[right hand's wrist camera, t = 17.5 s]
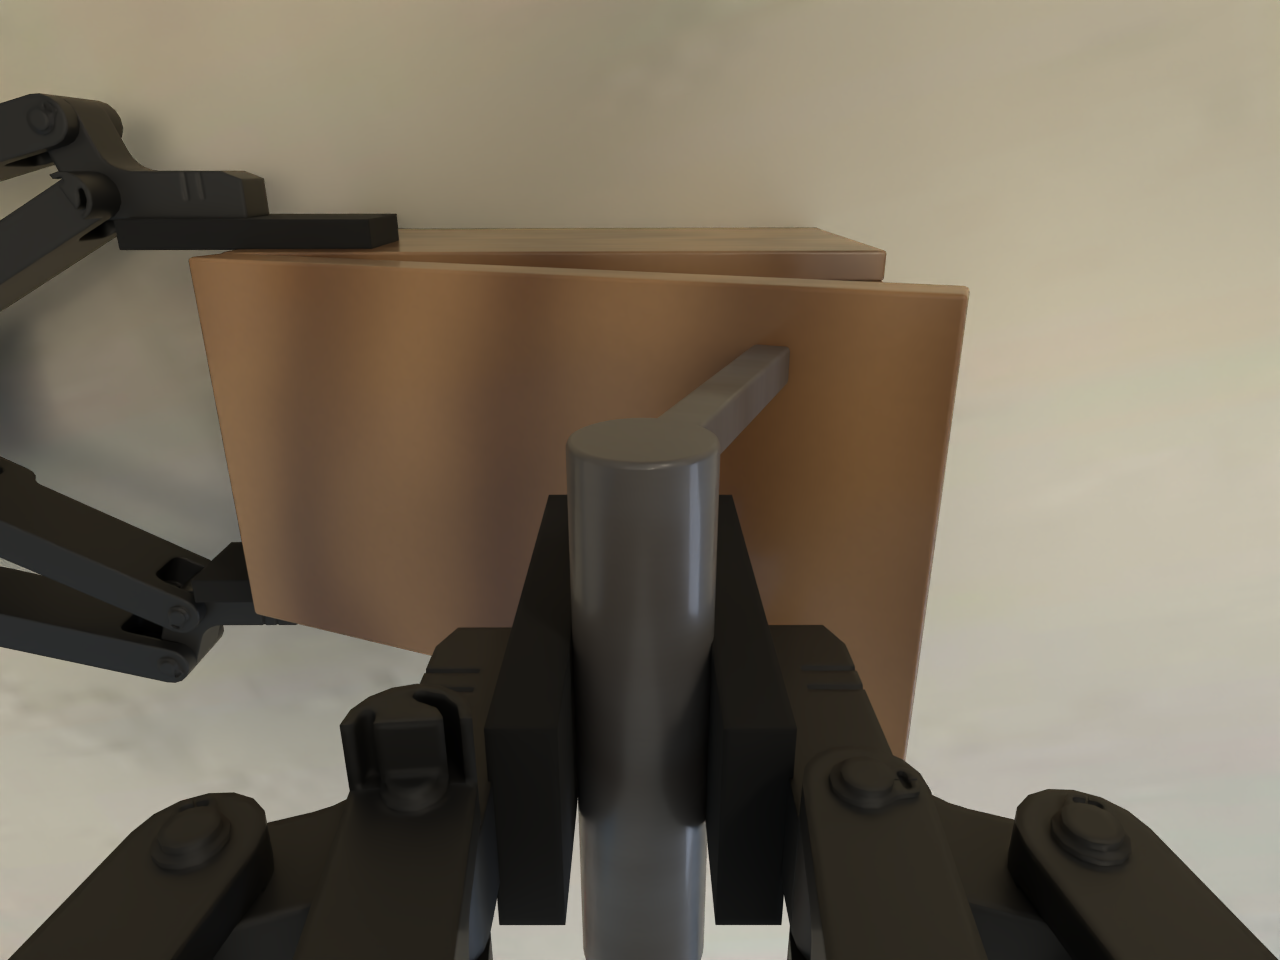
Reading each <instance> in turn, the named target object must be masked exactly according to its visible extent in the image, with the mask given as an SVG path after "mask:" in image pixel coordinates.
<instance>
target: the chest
mask: <svg viewBox="0 0 1280 960" xmlns="http://www.w3.org/2000/svg"><path fill="white" fill-rule="evenodd" d="M398 234H399V241H396V242H392V243H389V244H386V245H383V246H379V247H376V248H373V249H237V250H232V251H227V252H223V253H222V254H224V253H233V254H256V255H278V256H301V257H323V258H346V259H368V260H391V261H413V262H436V263H458V264H481V265H503V266H526V267H548V268H571V269H593V270H615V271H638V272H660V273H683V274H705V275H728V276H750V277H773V278H795V279H818V280H840V281H863V282H882V280H883V279H884V272H885V262H886V251H884V250H881V249H878V248H875V247H872V246H869V245H866V244H863V243H860V242H857V241H854V240H851V239H848V238H845V237H842V236H839V235H836V234H833V233H830V232H827V231H824V230H821V229H818V228H458V229H398Z"/></svg>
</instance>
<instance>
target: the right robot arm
mask: <svg viewBox="0 0 1280 960" xmlns="http://www.w3.org/2000/svg"><path fill="white" fill-rule="evenodd" d="M340 731H341V737H342V744H343V750H344V757H345V763H346V770H347V776H348V782H349V789H350V792H349V795H348V798H347V799H346V800H344V801H342V802H340V803H338V804H336V805H334V806H331V807H328V808H325V809H321V810H318V811H315V812H312V813H307V814H303V815H299V816H294V817H290V818H286V819H282V820H277V821H273V822H269V823H267V820H266V815H265V811H264V810H263V808H262V807H261V806H260V805H259V804H258V803H257V802H256V801H255V800H254V799H253V798H250V797H247V796H244V795H240V794H237V793H234V792H233V793H208V794H204V795H200V796H197V797H193V798H189V799H186V800H182V801H179V802H177V803H175V804H173V805H171V806H169V807H167V808H165V809H163V810H161V811H159V812H157V813H155V814H154V815H152V816H151V817H150V818H149V819H147V820H146V821H145V822H144V823H142V824H141V825H140V826H139V827H137V828H136V829H135V830H134V831H132V832H131V833H130V834H129V835H128V836H127V837H126V838H125V839H124V840H123V841H122V843H121V844H120V845H119V846H118V847H117V848H116V849H115V850H114V851H113V852H112V853H111V854H110V855H109V856H108V857H107V858H106V859H105V860H104V861H103V862H102V863H101V864H100V865H99V866H98V867H97V868H96V869H95V870H94V871H93V872H92V873H91V875H90V876H89V877H88V878H87V879H86V880H85V881H84V882H83V883H82V884H81V885H80V886H79V887H78V888H77V889H76V890H75V891H74V892H73V893H72V894H71V895H70V896H69V897H68V898H67V899H66V900H65V901H64V902H63V903H62V904H61V906H60V907H59V908H58V909H57V910H56V911H55V912H54V913H53V914H52V915H51V916H50V917H49V918H48V919H47V920H46V921H45V922H44V923H43V924H42V925H41V926H40V927H39V928H38V929H37V930H36V931H35V932H34V933H33V934H32V935H31V936H30V938H29V939H28V940H27V941H26V942H25V943H24V944H23V945H22V946H21V947H20V948H19V949H18V950H17V951H16V952H15V953H14V954H13V955H12V956H11V957H10V958H9V959H8V960H493V956H492V944H491V933H490V931H491V926H492V921H493V916H494V911H495V906H496V901H497V900H498V912H499V925H565V922H566V912H567V902H568V892H569V882H570V871H571V861H572V851H573V841H574V831H575V821H576V811H577V800H578V782H577V754H576V726H575V698H574V670H573V642H572V614H571V585H570V557H569V529H568V501H567V495H549V496H548V500H547V503H546V507H545V510H544V514H543V518H542V521H541V525H540V528H539V532H538V536H537V539H536V543H535V546H534V550H533V553H532V557H531V561H530V564H529V568H528V571H527V575H526V579H525V582H524V586H523V589H522V593H521V597H520V600H519V604H518V607H517V611H516V615H515V618H514V622H513V625H512V627H458V628H457V629H456V630H455V631H453V632H452V633H451V634H450V635H449V636H448V637H446V638H445V639H444V640H443V641H442V642H441V643H439V644H438V645H437V646H436V647H435V650H434V652H433V654H432V657H431V659H430V661H429V664H428V666H427V668H426V673H424V675H423V678H422V680H421V682H420V684H413V685H407V686H400V687H394V688H390V689H388V690H385V691H383V692H380V693H378V694H375V695H372V696H370V697H368V698H367V699H365V700H364V701H362V702H361V703H360V704H358V705H357V706H355V707H354V708H352V709H351V710H350V711H349V713H348V714H347V716H346V717H345V718H344V720H343V721H342V723H341V724H340ZM705 822H706V832H707V843H708V853H709V863H710V873H711V883H712V893H713V903H714V914H715V924H716V925H781V923H782V911H783V898H784V897H785V902H786V907H787V912H788V918H789V923H790V933H789V944H788V956H787V960H1278V959H1277V958H1276V957H1275V956H1274V955H1273V954H1272V953H1271V952H1270V951H1269V950H1268V949H1267V948H1266V947H1265V946H1264V945H1263V944H1262V943H1261V942H1260V940H1259V939H1258V938H1257V937H1256V936H1255V935H1254V934H1253V933H1252V932H1251V931H1250V930H1249V929H1248V928H1247V927H1246V926H1245V925H1244V924H1243V923H1242V922H1241V921H1240V920H1239V919H1238V918H1237V917H1236V916H1235V915H1234V914H1233V913H1232V912H1231V911H1230V910H1229V909H1228V908H1227V907H1226V906H1225V905H1224V904H1223V903H1222V902H1221V900H1220V899H1219V898H1218V897H1217V896H1216V895H1215V894H1214V893H1213V892H1212V891H1211V890H1210V889H1209V888H1208V887H1207V886H1206V885H1205V884H1204V883H1203V882H1202V881H1201V880H1200V879H1199V878H1198V877H1197V876H1196V875H1195V874H1194V873H1193V872H1192V871H1191V870H1190V869H1189V868H1188V867H1187V866H1186V865H1185V864H1184V863H1183V862H1182V860H1181V859H1180V858H1179V857H1178V856H1177V855H1176V854H1175V853H1174V852H1173V851H1172V850H1171V849H1170V848H1169V847H1168V846H1167V845H1166V844H1165V843H1164V842H1163V841H1162V840H1161V839H1160V838H1159V837H1158V836H1157V835H1156V834H1155V833H1154V832H1153V831H1152V830H1151V829H1150V828H1149V827H1148V826H1146V825H1145V824H1144V823H1143V822H1141V821H1140V820H1139V819H1138V818H1136V817H1135V816H1134V815H1133V814H1131V813H1130V812H1129V811H1127V810H1125V809H1123V808H1121V807H1119V806H1117V805H1115V804H1113V803H1111V802H1109V801H1107V800H1105V799H1103V798H1101V797H1098V796H1094V795H1090V794H1086V793H1083V792H1079V791H1075V790H1059V789H1047V790H1044V791H1040V792H1037V793H1034V794H1030V795H1028V796H1027V797H1026V798H1025V799H1024V800H1023V801H1022V803H1021V804H1020V805H1019V806H1018V807H1017V811H1016V815H1015V820H1013V819H1009V818H1005V817H1001V816H996V815H992V814H988V813H983V812H979V811H975V810H971V809H967V808H964V807H960V806H957V805H954V804H951V803H948V802H946V801H944V800H942V799H940V798H937V797H935V796H933V795H932V793H931V790H930V789H929V787H928V785H927V784H926V782H925V781H924V779H923V777H922V776H921V774H920V773H919V772H918V771H916V770H915V769H914V768H913V767H911V766H910V765H909V764H908V763H906V762H905V761H904V760H903V759H901V758H898V757H896V756H894V755H893V754H892V751H891V749H890V747H889V744H888V742H887V740H886V737H885V735H884V733H883V730H882V728H881V726H880V723H879V721H878V719H877V716H876V714H875V712H874V709H873V707H872V705H871V702H870V700H869V698H868V695H867V693H866V691H865V689H863V684H862V682H861V679H860V677H859V675H858V672H857V671H855V665H854V663H853V661H852V658H851V656H850V654H849V651H848V649H847V647H846V644H845V643H844V642H842V641H841V640H840V639H839V638H838V637H837V636H835V635H834V634H833V633H832V632H831V631H830V630H828V629H827V628H826V627H825V626H824V625H768V622H767V619H766V615H765V611H764V608H763V604H762V601H761V597H760V593H759V590H758V586H757V583H756V579H755V575H754V572H753V568H752V565H751V561H750V558H749V554H748V550H747V547H746V543H745V540H744V536H743V532H742V529H741V525H740V522H739V518H738V515H737V511H736V507H735V504H734V500H733V497H732V495H719V507H718V536H717V566H716V595H715V624H714V638H713V642H712V644H711V673H710V702H709V731H708V760H707V789H706V817H705Z"/></svg>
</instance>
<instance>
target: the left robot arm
mask: <svg viewBox="0 0 1280 960" xmlns="http://www.w3.org/2000/svg"><path fill="white" fill-rule="evenodd" d="M122 132H123V126H122V122H121V118H120V117H119V115H118V114H117V112H116V111H115V110H114V109H113V108H112V107H110V106H109V105H108V104H106V103H103V102H100V101H95V100H87V99H79V98H71V97H63V96H56V95H48V94H40V93H38V94H29V95H25V96H22V97H19V98H16V99H13V100H10V101H6V102H3V103H0V181H3V180H7V179H10V178H13V177H16V176H20V175H23V174H26V173H29V172H33V171H36V170H39V169H42V168H46V167H49V166H52V165H56V167H57V169H58V170H59V172H55V173H52V174H50V176H51V177H52V179H61V180H60V181H58V182H57V183H55V184H54V185H52V186H51V187H50V188H48V189H47V190H45V191H44V192H42V193H41V194H39V195H38V196H36V197H35V198H33V199H32V200H30V201H29V202H27V203H26V204H24V205H23V206H21V207H20V208H18V209H17V210H15V211H14V212H12V213H11V214H9V215H8V216H6V217H5V218H3V219H2V220H0V312H1V311H2V310H4V309H5V308H7V307H9V306H10V305H12V304H13V303H15V302H16V301H18V300H19V299H21V298H22V297H24V296H25V295H27V294H29V293H30V292H32V291H33V290H35V289H36V288H38V287H39V286H41V285H42V284H44V283H45V282H47V281H49V280H50V279H52V278H53V277H55V276H56V275H58V274H59V273H61V272H62V271H64V270H66V269H67V268H69V267H70V266H72V265H73V264H75V263H76V262H78V261H79V260H81V259H82V258H84V257H86V256H87V255H89V254H90V253H92V252H93V251H95V250H96V249H98V248H99V247H101V246H103V245H104V244H106V243H107V242H109V241H110V240H112V239H113V238H115V237H116V236H117V239H118V243H119V248H120V250H237V249H373V248H376V247H379V246H383V245H386V244H389V243H392V242H396V241H399V234H398V224H397V214H269V209H268V203H267V196H266V189H265V183H264V179H263V178H261V177H258V176H256V175H253V174H251V173H248V172H246V171H156V170H151V169H148V168H145V167H144V166H142V165H141V164H139V163H138V162H137V161H136V160H135V159H134V158H133V157H132V156H131V154H130V153H129V152H128V150H127V148H126V146H125V144H124V143H123V141H122V139H121V137H122ZM0 557H1V558H3V559H5V560H8V561H10V562H12V563H15V564H17V565H19V566H22V567H24V568H26V569H29V570H31V571H33V572H36V573H38V574H40V575H38V574H34V573H29V572H24V571H20V570H15V569H11V568H5V567H0V647H4V648H9V649H13V650H18V651H23V652H27V653H32V654H37V655H42V656H46V657H51V658H56V659H60V660H65V661H70V662H75V663H79V664H84V665H89V666H94V667H98V668H103V669H108V670H112V671H117V672H122V673H127V674H131V675H136V676H141V677H145V678H150V679H155V680H160V681H164V682H173V683H176V682H179V681H182V680H183V679H184V678H185V677H187V675H188V674H189V673H190V672H191V671H192V670H193V669H194V667H195V666H196V665H197V664H198V663H199V662H200V661H201V659H202V658H203V657H204V656H205V655H206V654H207V653H208V651H209V650H210V649H211V648H212V647H213V646H214V645H215V643H216V642H217V641H218V640H219V639H220V638H221V637H222V635H223V632H224V628H223V625H263V624H266V625H276V624H279V625H297V623H293V622H288V621H284V620H280V619H276V618H272V617H268V616H263V615H259V614H257V613H256V612H255V609H254V603H253V598H252V593H251V587H250V582H249V577H248V572H247V566H246V561H245V556H244V551H243V545H242V542H231V543H230V544H229V545H228V546H227V547H226V548H225V549H224V550H223V551H222V552H221V553H220V554H218V555H217V556H216V557H215V558H214V559H213V560H212V561H211V560H209V559H206V558H204V557H202V556H200V555H197V554H195V553H193V552H191V551H188V550H186V549H184V548H182V547H179V546H177V545H175V544H173V543H170V542H168V541H166V540H164V539H161V538H159V537H157V536H155V535H152V534H150V533H148V532H146V531H143V530H141V529H139V528H137V527H134V526H132V525H130V524H128V523H125V522H123V521H121V520H119V519H117V518H114V517H112V516H110V515H108V514H105V513H103V512H101V511H99V510H96V509H94V508H92V507H90V506H87V505H85V504H83V503H81V502H78V501H76V500H74V499H72V498H69V497H67V496H65V495H63V494H60V493H58V492H56V491H54V490H51V489H49V488H47V487H45V486H42V485H40V484H39V483H37V482H36V475H35V474H34V473H33V472H32V471H31V470H29V469H27V468H25V467H23V466H20V465H18V464H16V463H14V462H11V461H9V460H7V459H5V458H2V457H0Z"/></svg>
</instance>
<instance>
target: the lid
mask: <svg viewBox="0 0 1280 960" xmlns="http://www.w3.org/2000/svg"><path fill="white" fill-rule="evenodd" d="M189 265H190V271H191V276H192V281H193V286H194V292H195V297H196V302H197V308H198V313H199V318H200V323H201V329H202V334H203V339H204V345H205V350H206V355H207V360H208V366H209V371H210V376H211V382H212V387H213V392H214V397H215V403H216V408H217V413H218V418H219V424H220V429H221V434H222V440H223V445H224V450H225V455H226V461H227V466H228V471H229V477H230V482H231V487H232V492H233V498H234V503H235V508H236V514H237V519H238V524H239V529H240V535H241V540H242V545H243V551H244V556H245V561H246V566H247V572H248V577H249V582H250V587H251V593H252V598H253V603H254V609H255V612H256V613H257V614H259V615H263V616H268V617H272V618H276V619H280V620H284V621H288V622H293V623H297V624H301V625H305V626H309V627H314V628H318V629H322V630H326V631H330V632H335V633H339V634H343V635H347V636H351V637H355V638H360V639H364V640H368V641H372V642H376V643H381V644H385V645H389V646H393V647H397V648H401V649H406V650H410V651H414V652H418V653H422V654H427V655H431V656H432V654H433V652H434V650H435V647H436V646H437V645H438V644H439V643H441V642H442V641H443V640H444V639H445V638H446V637H448V636H449V635H450V634H451V633H452V632H453V631H455V630H456V629H457V628H458V627H512V625H513V622H514V618H515V615H516V611H517V607H518V604H519V600H520V597H521V593H522V589H523V586H524V582H525V579H526V575H527V571H528V568H529V564H530V561H531V557H532V553H533V550H534V546H535V543H536V539H537V536H538V532H539V528H540V525H541V521H542V518H543V514H544V510H545V507H546V503H547V500H548V496H549V495H567V501H568V529H569V557H570V585H571V614H572V642H573V670H574V698H575V726H576V754H577V782H578V810H579V839H580V867H581V895H582V923H583V949H584V954H585V958H586V960H701V957H702V953H703V946H704V916H705V887H706V858H707V832H706V822H705V817H706V789H707V760H708V731H709V702H710V673H711V644H712V642H713V638H714V624H715V595H716V566H717V536H718V507H719V495H732V497H733V500H734V504H735V507H736V511H737V515H738V518H739V522H740V525H741V529H742V532H743V536H744V540H745V543H746V547H747V550H748V554H749V558H750V561H751V565H752V568H753V572H754V575H755V579H756V583H757V586H758V590H759V593H760V597H761V601H762V604H763V608H764V611H765V615H766V619H767V622H768V625H824V626H825V627H826V628H827V629H828V630H830V631H831V632H832V633H833V634H834V635H835V636H837V637H838V638H839V639H840V640H841V641H842V642H844V643H845V644H846V647H847V649H848V651H849V654H850V656H851V658H852V661H853V663H854V665H855V671H857V672H858V675H859V677H860V679H861V682H862V684H863V689H865V691H866V693H867V695H868V698H869V700H870V702H871V705H872V707H873V709H874V712H875V714H876V716H877V719H878V721H879V723H880V726H881V728H882V730H883V733H884V735H885V737H886V740H887V742H888V744H889V747H890V749H891V751H892V754H893V755H894V756H896V757H898V758H901V759H903V760H904V761H905V759H906V752H907V745H908V738H909V731H910V724H911V716H912V709H913V702H914V694H915V687H916V680H917V672H918V665H919V658H920V651H921V643H922V636H923V629H924V621H925V614H926V607H927V599H928V592H929V585H930V577H931V570H932V563H933V555H934V548H935V541H936V533H937V526H938V519H939V512H940V504H941V497H942V490H943V482H944V475H945V468H946V460H947V453H948V446H949V438H950V431H951V424H952V416H953V409H954V402H955V395H956V387H957V380H958V373H959V365H960V358H961V351H962V343H963V336H964V329H965V321H966V314H967V307H968V299H969V288H968V287H966V286H953V285H930V284H908V283H885V282H863V281H840V280H818V279H795V278H773V277H750V276H728V275H705V274H683V273H660V272H638V271H615V270H593V269H571V268H548V267H526V266H503V265H481V264H458V263H436V262H413V261H391V260H368V259H346V258H323V257H301V256H278V255H256V254H233V253H224V254H215V255H206V256H197V257H192V258H190V259H189Z"/></svg>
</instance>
